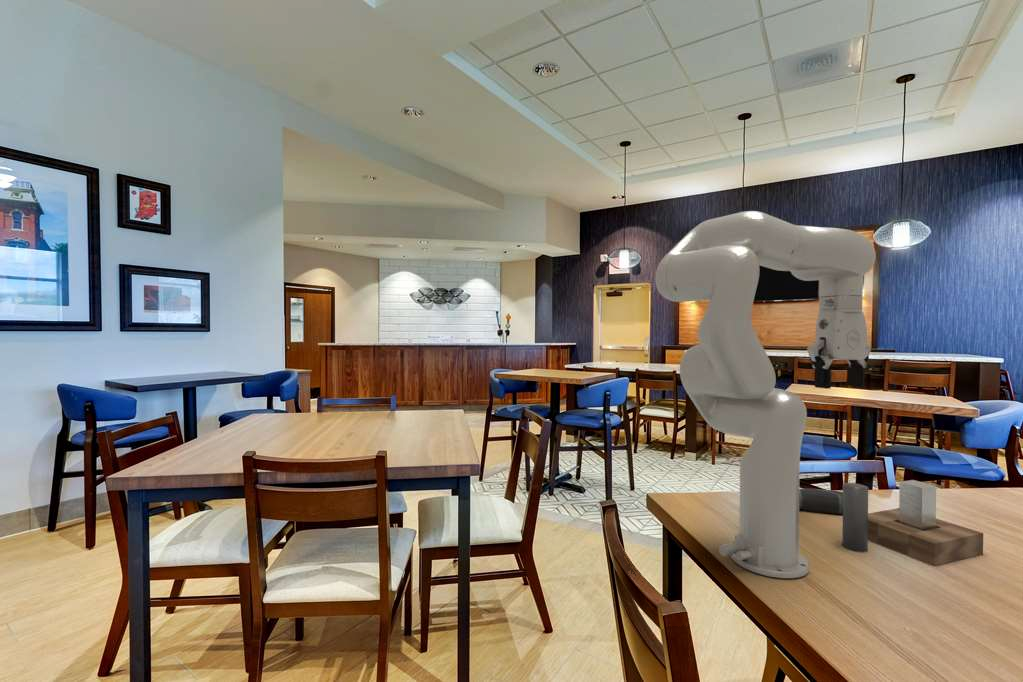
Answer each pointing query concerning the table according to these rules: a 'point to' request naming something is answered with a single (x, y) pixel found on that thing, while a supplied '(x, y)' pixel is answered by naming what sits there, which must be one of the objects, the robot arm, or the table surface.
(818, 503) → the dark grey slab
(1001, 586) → the table surface
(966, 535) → the bore block
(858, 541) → the round bit
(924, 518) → the square bit
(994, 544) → the table surface
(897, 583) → the table surface
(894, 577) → the table surface
